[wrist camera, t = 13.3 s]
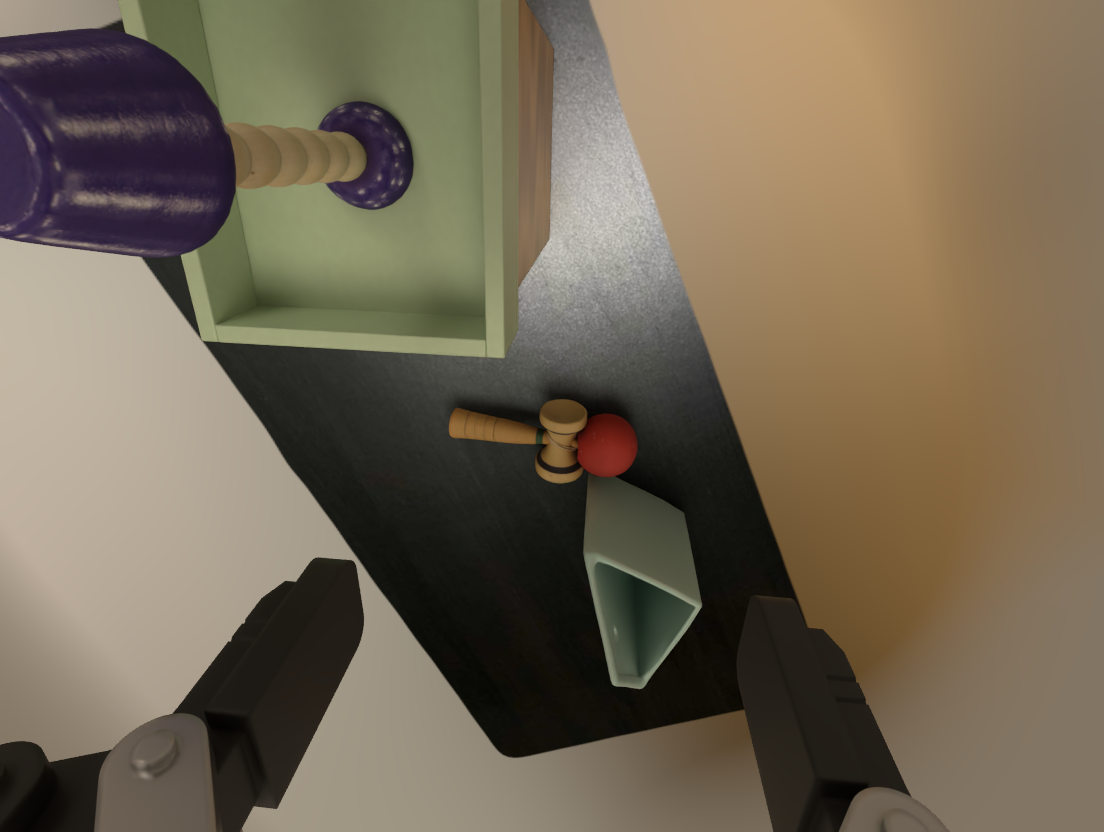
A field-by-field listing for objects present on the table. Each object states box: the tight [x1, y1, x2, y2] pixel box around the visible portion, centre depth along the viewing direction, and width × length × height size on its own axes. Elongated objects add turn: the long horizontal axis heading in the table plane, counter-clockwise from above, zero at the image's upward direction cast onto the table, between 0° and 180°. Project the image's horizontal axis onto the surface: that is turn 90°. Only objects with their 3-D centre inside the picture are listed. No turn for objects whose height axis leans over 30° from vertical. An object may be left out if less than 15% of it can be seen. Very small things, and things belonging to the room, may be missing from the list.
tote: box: [118, 0, 519, 358], centre depth 23 cm, size 16×14×4 cm
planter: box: [584, 472, 702, 689], centre depth 52 cm, size 16×8×20 cm, turn 20°
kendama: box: [449, 399, 637, 483], centre depth 55 cm, size 8×6×18 cm
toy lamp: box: [0, 28, 414, 258], centre depth 17 cm, size 5×5×17 cm
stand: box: [518, 0, 554, 287], centre depth 36 cm, size 14×12×24 cm
